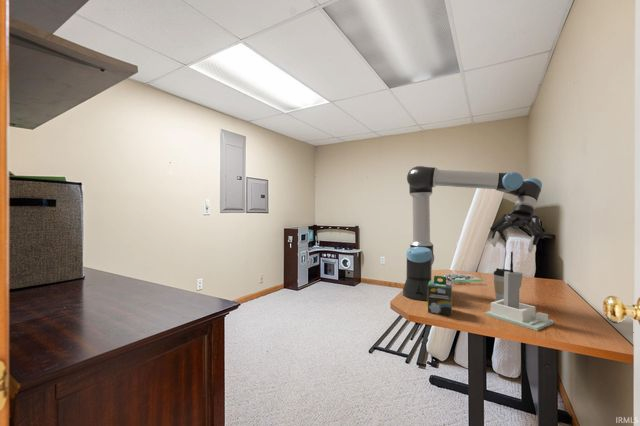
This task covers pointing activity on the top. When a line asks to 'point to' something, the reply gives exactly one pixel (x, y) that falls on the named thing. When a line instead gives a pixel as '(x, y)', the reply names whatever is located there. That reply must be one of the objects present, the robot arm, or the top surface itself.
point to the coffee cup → (499, 283)
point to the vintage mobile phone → (512, 286)
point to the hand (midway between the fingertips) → (510, 247)
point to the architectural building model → (519, 315)
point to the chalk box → (440, 296)
